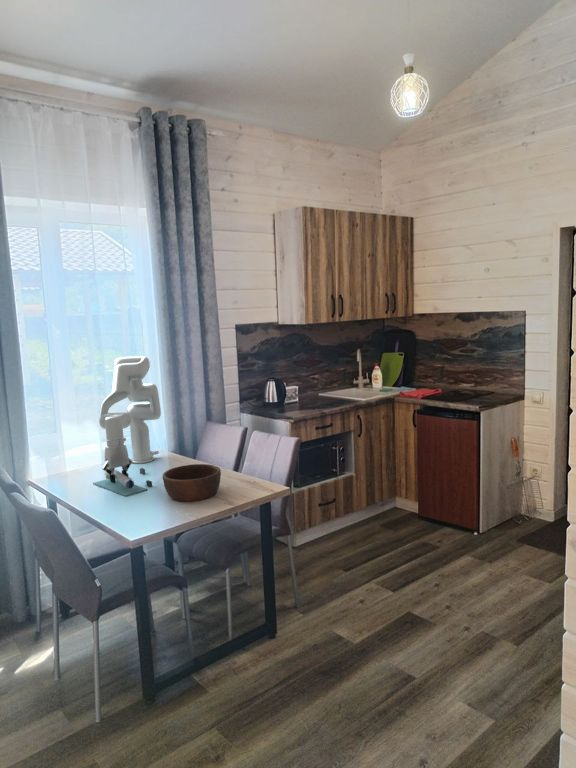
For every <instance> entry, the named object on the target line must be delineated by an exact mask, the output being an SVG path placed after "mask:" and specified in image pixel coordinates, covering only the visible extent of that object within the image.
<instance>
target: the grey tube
mask: <svg viewBox="0 0 576 768" xmlns="http://www.w3.org/2000/svg"><path fill="white" fill-rule="evenodd" d="M107 469H108V470H109V467H107ZM114 475H115V478H116V479H117V480H119V481H120V482H121V483H122V485H123V486H125V487H127V488H128V489H129V488H132V487H133V486H134V485H135V481H134V480H132V478H131V477H130V476H129V477H127V476H125V475H123V474H122V472H120V471H119V470H117V468H115V469H114ZM104 476H105V480H106V479H109V480H110V474H108V473H107V472H106V471H104Z"/></svg>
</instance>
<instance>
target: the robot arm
mask: <svg viewBox="0 0 576 768" xmlns="http://www.w3.org/2000/svg"><path fill="white" fill-rule="evenodd" d="M150 364H151V363H150V360H149V358H148V357H147V356H145V355H144V356H141V355H139V356H121V357H117V358H115V359H114V362H113V365H114V370H113V376H112V377H113V378H112V386H111V392H110V393H109V394H108V395H107V397H105V399H104V400H103V401H102V403H101V405H100V410H99V416H98V417H99V418H98V419H99V420H98V423H99V426H100V428H102V429H104V430H105V434H106V435H105V437H106V446H105V447H104V448H105V449H104V464H103V466H102V468H101V470H102V471H104V472H105V471H106V472H107V473H108V474H110V481H111V482H112V483H115V475H114V469H117V468H121V469H122V470H121V473H122V474H123V475H125V476H127V473H128V470H129V468H130V466H131V465H132V464H146V463H151V462H152V461H154V460H155V457H154V455H159V453H160V452H159V450H157V449H156V450H155V451H154V450H151V444H150V443H151V441H150V430H149V426H148V425H147V423H146V422H145V421H156V420H159V419H160V418H161V415H162V411H161V409H162V408H161V402H160V397H159V396H160V395H159V389H158V387H157V386H156V385H157V384H154V383H151V382H150V383H143V380H144V379H145V377H146V375H147V374H148V372H149V370H150V366H151V365H150ZM125 399H128V401H129V402H133V403H130V404H129V405H128V406H127V408H126V411H124V412H123V411H122V412H121V411H120V412H118V411H117V412H109V411H110V408H111V407H112V406H113V405H115V404H117V403H119V402H121V401H122V400H125ZM128 427H129V429H130V440H131V453H132V457H131V458H130V457H129V453H128V452H129V451H128V448H127V446H126V443H125V442H126V441H127V438H126V437H125V436H124V429H127V428H128ZM107 467H109V470H108V469H107Z"/></svg>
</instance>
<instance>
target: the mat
mask: <svg viewBox="0 0 576 768" xmlns="http://www.w3.org/2000/svg"><path fill="white" fill-rule="evenodd" d="M92 485H94V486H97V487H99V488H101V489H104V490H107V491H110V492H112V493H115V494H117V495H121V496H122V497H124V498H126V497H129V496H132V495H137V494H139V493H142V492H143V493H144V492H146V491H148V488H146V487H143V486H140V485H137V484H134V486H133V487H132V488H129V489H128V488H127V487H125V486H123V485H122V483H121V482H120V481H119V480H117V479H116V478H115V483H112V482H111V481H110V480H109V479H106V478H105V479H102V480H99V481H96V482H95V481H94V482H92Z"/></svg>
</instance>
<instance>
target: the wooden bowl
mask: <svg viewBox="0 0 576 768" xmlns="http://www.w3.org/2000/svg"><path fill="white" fill-rule="evenodd" d="M221 474H222V471H221V468H220V467H218V466H216V465H213V464H205V463H202V464H201V463H197V464H195V463H194V464H185V465H180V466H176V467H172V468H170V469H168V470H166V471H165V472H164V473H163V474H162V481H163V485H164V489H165V491H166V493H167V495H168V497H170V498H171V499H172V500H174V501H177V502H184V503H185V502H198V501H203V500H207V499H209V498H211V497H213V496H214V495H216V493H217V492H218V490H219V487H220V484H221Z"/></svg>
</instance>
